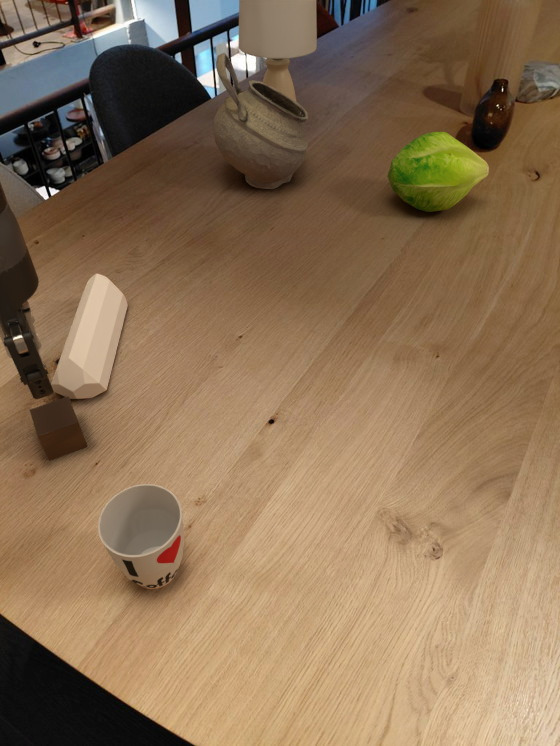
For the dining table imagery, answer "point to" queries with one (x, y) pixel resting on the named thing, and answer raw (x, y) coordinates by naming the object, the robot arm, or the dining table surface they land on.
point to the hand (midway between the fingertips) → (36, 371)
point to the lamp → (278, 36)
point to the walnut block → (58, 428)
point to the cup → (144, 534)
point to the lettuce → (435, 172)
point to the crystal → (91, 341)
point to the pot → (259, 130)
